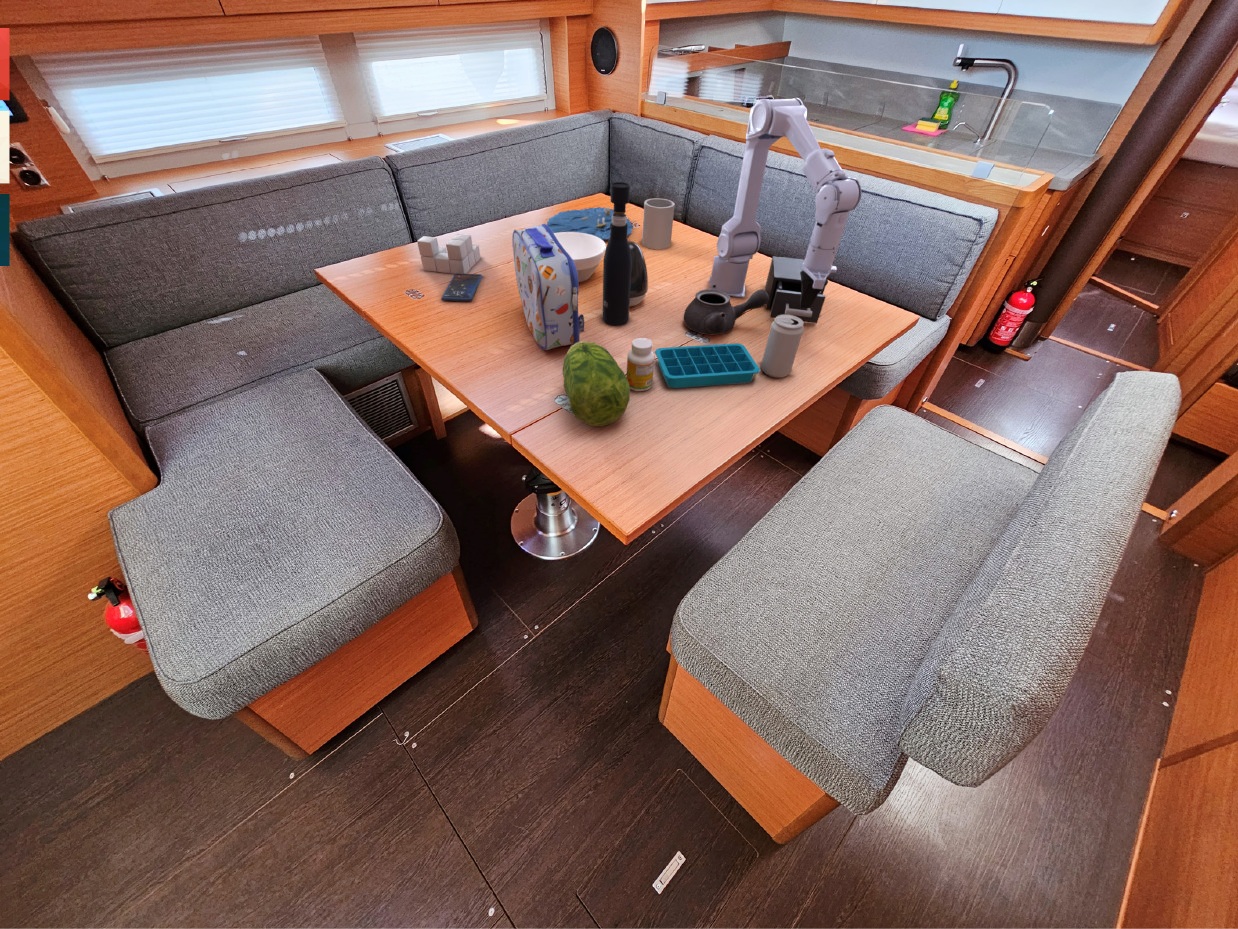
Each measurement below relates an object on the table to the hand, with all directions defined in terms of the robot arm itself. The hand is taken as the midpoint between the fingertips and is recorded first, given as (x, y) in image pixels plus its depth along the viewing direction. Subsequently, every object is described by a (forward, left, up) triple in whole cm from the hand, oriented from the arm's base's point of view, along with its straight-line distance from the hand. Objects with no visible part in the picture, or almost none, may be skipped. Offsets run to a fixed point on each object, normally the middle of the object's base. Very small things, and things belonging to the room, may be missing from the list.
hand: (804, 306), depth 115 cm
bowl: (-60, +21, -9) cm, 64 cm away
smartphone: (-85, +5, -9) cm, 86 cm away
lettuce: (-41, -34, -9) cm, 54 cm away
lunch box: (-57, -10, -9) cm, 59 cm away
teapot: (-17, +1, -9) cm, 19 cm away
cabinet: (0, +21, -9) cm, 23 cm away
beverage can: (-5, -15, -9) cm, 18 cm away
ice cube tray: (-20, -19, -9) cm, 29 cm away
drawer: (0, +13, -8) cm, 15 cm away
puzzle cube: (-94, +19, -9) cm, 96 cm away
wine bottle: (-43, -1, -9) cm, 44 cm away
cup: (-40, +51, -9) cm, 66 cm away
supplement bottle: (-33, -27, -9) cm, 43 cm away
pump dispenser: (-42, +9, -9) cm, 44 cm away
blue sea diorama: (-63, +59, -9) cm, 87 cm away
